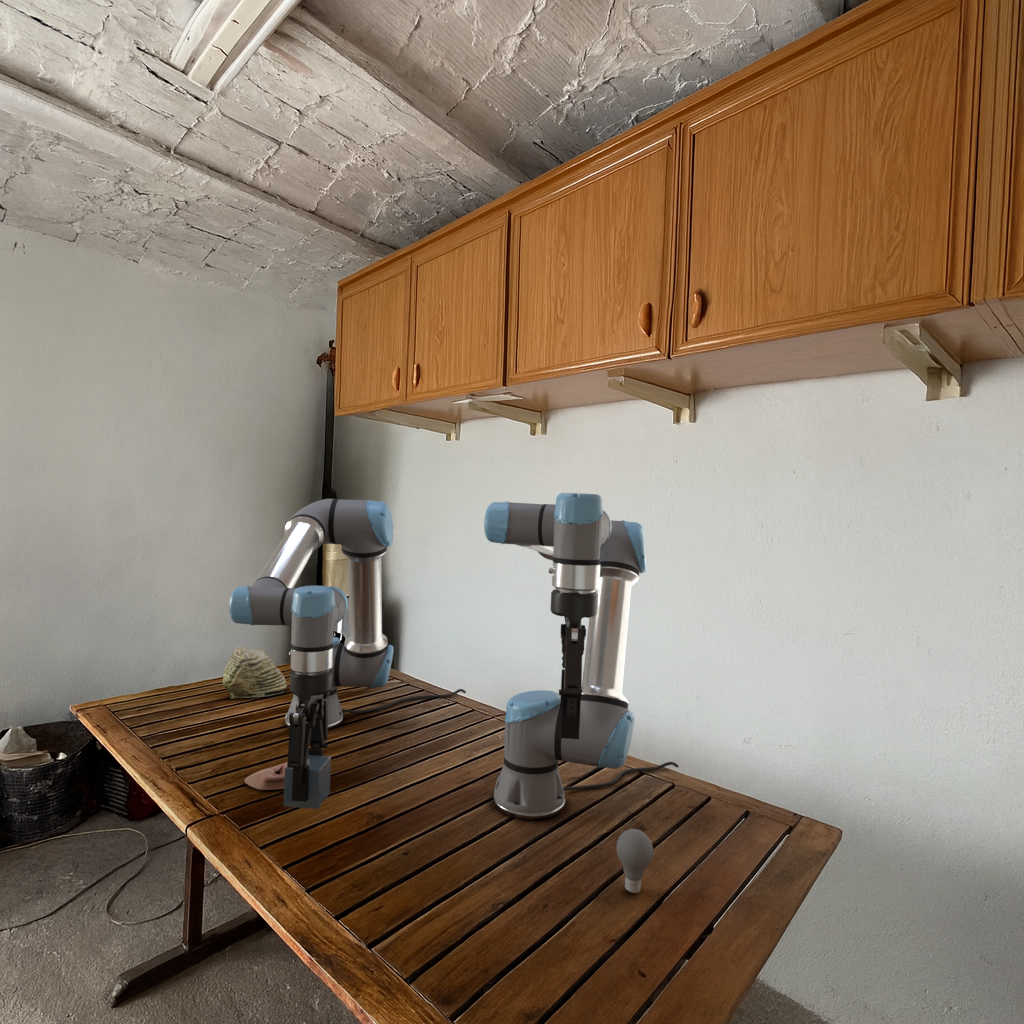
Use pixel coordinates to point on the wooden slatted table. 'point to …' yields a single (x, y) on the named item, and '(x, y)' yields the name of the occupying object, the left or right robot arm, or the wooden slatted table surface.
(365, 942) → the wooden slatted table surface
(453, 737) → the wooden slatted table surface
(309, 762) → the block
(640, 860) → the light bulb
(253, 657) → the fossil
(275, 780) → the anatomical model
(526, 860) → the wooden slatted table surface
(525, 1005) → the wooden slatted table surface
